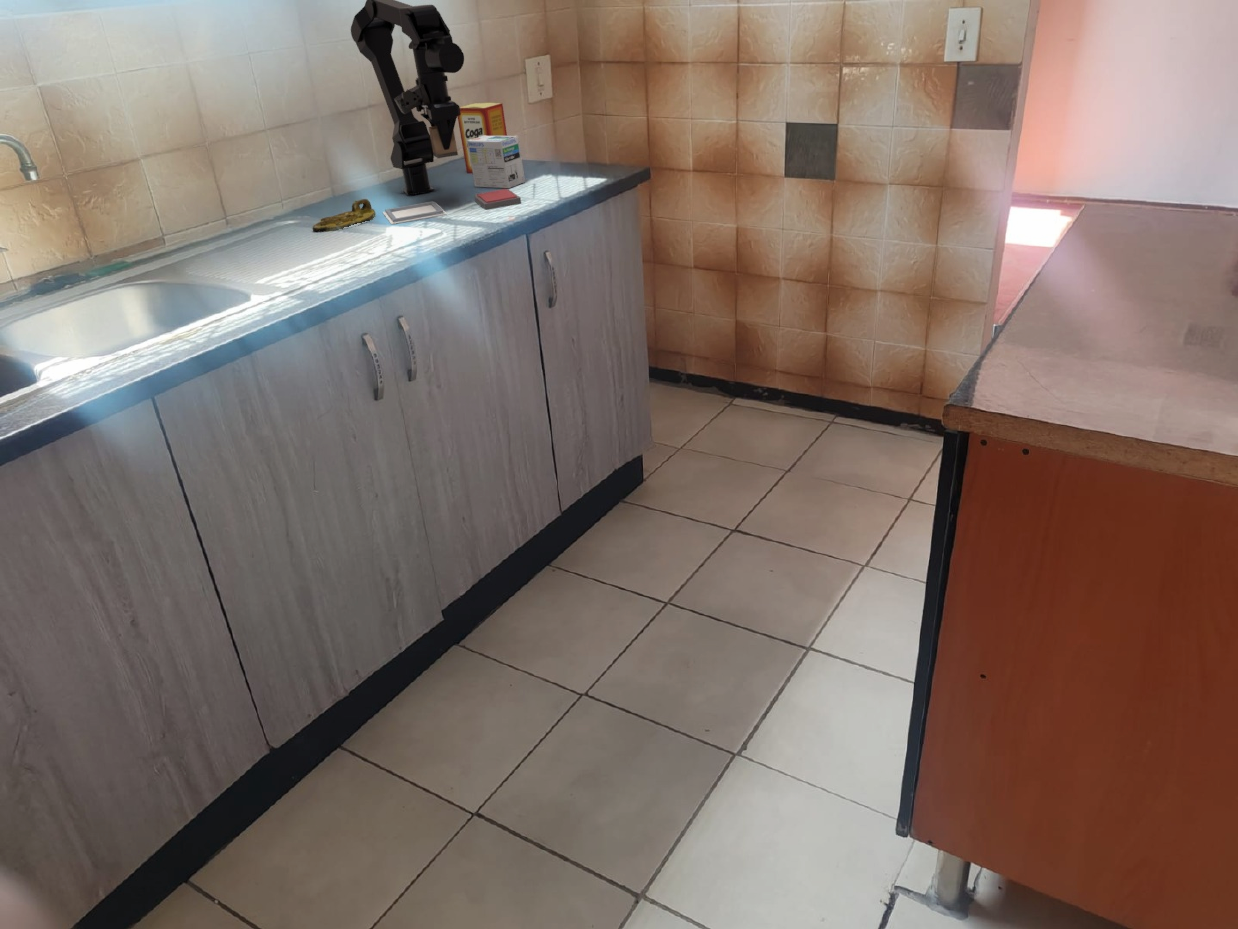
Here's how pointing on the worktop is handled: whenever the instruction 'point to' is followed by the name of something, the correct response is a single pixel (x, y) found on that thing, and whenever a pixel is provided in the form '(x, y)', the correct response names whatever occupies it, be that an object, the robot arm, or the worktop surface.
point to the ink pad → (497, 199)
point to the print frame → (413, 212)
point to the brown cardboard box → (438, 146)
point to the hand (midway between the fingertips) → (444, 147)
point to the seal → (347, 217)
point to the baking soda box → (480, 124)
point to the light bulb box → (496, 161)
